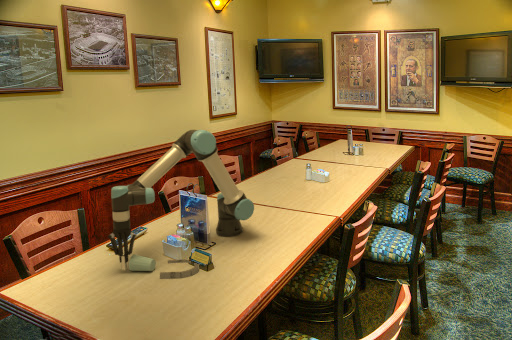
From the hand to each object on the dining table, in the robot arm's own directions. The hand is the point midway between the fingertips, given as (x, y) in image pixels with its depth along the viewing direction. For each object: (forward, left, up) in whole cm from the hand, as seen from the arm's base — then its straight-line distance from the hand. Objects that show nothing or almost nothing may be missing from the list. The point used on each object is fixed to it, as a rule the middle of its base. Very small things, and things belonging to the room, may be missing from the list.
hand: (124, 269), depth 207 cm
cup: (-12, 0, -3) cm, 12 cm away
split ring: (-26, 0, -2) cm, 26 cm away
